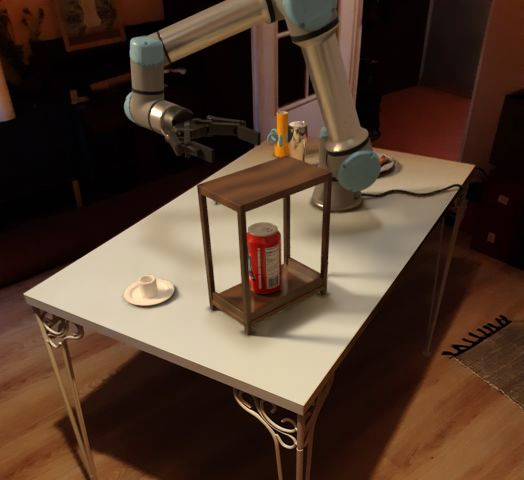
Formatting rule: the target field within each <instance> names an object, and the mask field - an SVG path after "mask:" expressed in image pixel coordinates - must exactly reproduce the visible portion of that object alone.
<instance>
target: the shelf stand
mask: <svg viewBox="0 0 524 480" xmlns="http://www.w3.org/2000/svg"><path fill="white" fill-rule="evenodd" d="M321 183H324V192H323V210H322V220H321V221H322V222H321V245H320V246H321V248H320V271H318V270H315V269H314V268H311V267H310V266H308V265H306V264H304V263H302V262H301V261H298V260H296V259H295V258H293V257H291V196H292V195H294V194H297V193H300V192H303V191H306V190H308V189H311V188H315V186H316V185H319V184H321ZM196 190H197V197H198V207H199V208H198V209H199V217H200V218H199V219H200V226H201V237H202V246H203V247H202V248H203V255H204V264H205V275H206V285H207V293H208V301H209V309H210V310H211V311H216V310H218V309H219V310H220V311H222V312H223V313H225V314H226V315H228V316H229V317H230V318H232V319H233V320H235V321H236V322H237V323H239V324H240V325H241V326H243V330H244V331H243V332H244V334H245V335H247V336H249V335H251V334H253V326H255V325H258V324H259V323H261V322H263V321H265V320H267V319H269V318H271V317H273V316H275V315H277V314H279V313H280V312H282V311H284V310H285V311H286V310H287V309H289V308H290V307H292V306H295V305H297V304H298V303H300V302H302V301H304V300H307V299H308V298H310V297H312V296H314V295H316V294H318V293H319V295H320V296H322V297H325V296H326V295H327V294H328V293H327V292H328V272H329V271H328V270H329V251H330V231H331V212H332V211H331V191H332V172H331V171H328V170H326V169H323V168H320V167H319V166H317V165H314V164H313V163H310V162H306V161H305V162H304V161H301V160H298V159H296V158H293V157H290V156H287V155H286V156H283V157H277V158H274V159H271V160H268V161H265V162H262V163H259V164H255V165H253V166H250V167H247V168H243V169H240V170H237V171H235V172H232V173H228V174H225V175H223V176H219V177H217V178H213V179H210V180H208V181H205V182H201V183H198V184H196ZM207 198H208V199H210V200H212V201H214V202H215V203H216V202H218V203H217V204H220V205H222V206H224V207H226V208H228V209H230V210H232V211H234V212H236V219H237V233H238V249H239V265H240V266H239V267H240V268H239V269H240V283H238V284H236V285H233V286H231V287H229V288H227V289H225V290H223V291H220V292H218V291H216V284H215V273H214V264H213V263H214V262H213V252H212V243H211V232H210V222H209V220H210V219H209V212H208V211H209V210H208V200H207ZM281 199H282V226H283V227H282V229H283V231H282V232H283V233H282V234H283V235H282V237H283V239H282V240H283V241H282V242H283V245H282V247H283V263H281V264H282V285H281V287H280V289H279V290H277V291H275V292H273V293H270V294H259V293H255V292H253V291H252V290H250V285H249V266H248V247H247V232H248V228H247V212H250V211H253V210H255V209H258V208H260V207H263V206H266V205H268V204H271V203H274V202H276V201H279V200H281Z"/></svg>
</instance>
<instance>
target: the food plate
mask: <svg viewBox="0 0 524 480" xmlns="http://www.w3.org/2000/svg"><path fill="white" fill-rule="evenodd" d="M373 152H374V153H376V154H377V156H378V158H379V160H380V164H381V169H380V173H384V172H386V171H389V170H391V169H393V168H394V167H395V164H396V161H395V159H393V157H391V156H390V155H389V154H387V153H383V152H379V151H378V150H373Z"/></svg>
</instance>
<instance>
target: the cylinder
mask: <svg viewBox="0 0 524 480" xmlns="http://www.w3.org/2000/svg"><path fill="white" fill-rule="evenodd" d="M288 123H289V112H288V111H287V110H280V111H277V112H276V128H272V129H271V130H270V132H269V134H268V135H267V138H266V141H267V143H268V144H269V145H271V146H273V147H274V156H275V157H277V158H280V157H283V156H286V155H287V156H290V154H289V148H288V141H287V131H288ZM274 136H275V137H274ZM270 138H271V140H272V141H270Z"/></svg>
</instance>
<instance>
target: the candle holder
mask: <svg viewBox="0 0 524 480" xmlns="http://www.w3.org/2000/svg"><path fill="white" fill-rule="evenodd" d="M174 292H175V286H174V285H173V283H172V282H171V281H168V280H166V279H163V278H156V276H154V275H152V274H145V275H142V276H140V277H138V279H137V281H135V282H133V283H132V284H130V285H129V286H127V288H125V290H124V293H123V297H124V299H125V301H127V302H128V303H129V304H132V305H136V306H153V305H158V304H161V303H163V302H166V301H167V300H168V299H170V298H171V297H172V296H173V294H174Z"/></svg>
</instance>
